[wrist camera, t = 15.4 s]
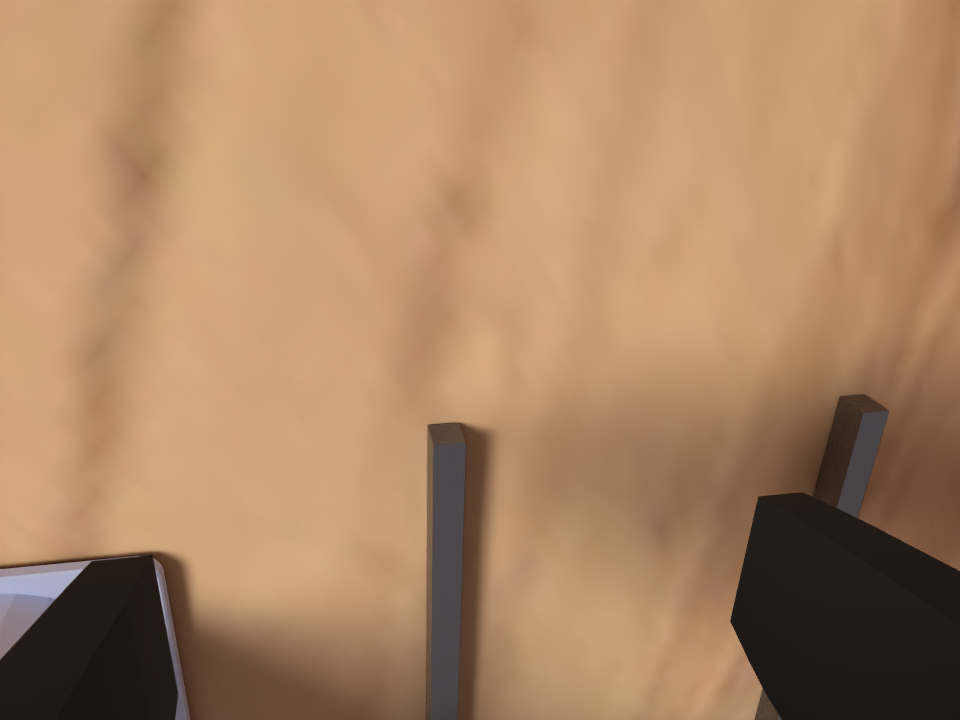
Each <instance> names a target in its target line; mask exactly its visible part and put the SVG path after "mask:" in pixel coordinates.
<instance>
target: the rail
mask: <svg viewBox="0 0 960 720" xmlns="http://www.w3.org/2000/svg"><path fill="white" fill-rule="evenodd" d="M888 413H889V411H888V410H887V409H885V408H884V407H882V406H881V405H879V404H878V403H876V402H875V401H873V400H872V399H870V398H869V397H867V396H866V395H854V396H840V399H839V403H838V406H837V410H836V414H835V418H834V422H833V425H832V429H831V433H830V437H829V441H828V444H827V448H826V452H825V456H824V459H823V463H822V467H821V471H820V475H819V478H818V482H817V486H816V490H815V494H814V498H816V499H818V500H821V501H823V502H825V503H827V504H829V505H831V506H834V507H836V508H838V509H840V510H842V511H844V512H846V513H848V514H850V515H852V516H854V517H856V518H858V514H859V511H860V508H861V504H862V501H863V497H864V494H865V491H866V487H867V484H868V481H869V477H870V474H871V470H872V467H873V464H874V460H875V457H876V454H877V450H878V447H879V444H880V440H881V437H882V433H883V430H884V427H885V423H886V420H887V417H888ZM465 460H466V441H465V438H464V436H463V433H462V430H461V427H460V424H459V423H447V424H433V425H428V462H427V641H426V720H458V691H459V658H460V625H461V592H462V559H463V526H464V493H465ZM755 720H782V719H781V717H780V716H779V714H778V713H777V711H776V710H775V708H774V706H773V705H772V703H771V702H770V700H769V698H768V697H767V695H766V693H765V691H764V689H763V691H762V695H761V698H760V702H759V706H758V710H757V714H756V717H755Z"/></svg>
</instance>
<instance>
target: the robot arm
mask: <svg viewBox="0 0 960 720" xmlns="http://www.w3.org/2000/svg"><path fill="white" fill-rule="evenodd" d="M730 621H731V624H732V626H733V628H734V630H735V632H736V634H737V636H738V638H739V641H740V643H741V645H742V647H743V649H744V651H745V653H746V656H747V658H748V660H749V662H750V664H751V666H752V668H753V670H754V672H755V674H756V676H757V677H758V679H759V681H760V683H761V685H762V687H763V689H764V691H765V693H766V695H767V697H768V698H769V700H770V702H771V703H772V705H773V706H774V708H775V710H776V711H777V713H778V714H779V716H780V717H781V719H782V720H960V571H958V570H956V569H954V568H952V567H950V566H949V565H947V564H945V563H943V562H941V561H939V560H937V559H935V558H933V557H931V556H929V555H927V554H926V553H924V552H922V551H920V550H918V549H916V548H914V547H912V546H910V545H908V544H906V543H904V542H903V541H901V540H899V539H897V538H895V537H893V536H891V535H889V534H887V533H885V532H883V531H881V530H880V529H878V528H876V527H874V526H872V525H870V524H868V523H866V522H864V521H862V520H860V519H858V518H856V517H854V516H852V515H850V514H848V513H846V512H844V511H842V510H840V509H838V508H836V507H834V506H831V505H829V504H827V503H825V502H823V501H821V500H818V499H816V498H814V497H811V496H809V495H807V494H804V493H802V492H801V493H790V494H780V495H769V496H759V497H758V501H757V505H756V510H755V514H754V518H753V523H752V527H751V532H750V536H749V540H748V545H747V549H746V554H745V558H744V563H743V567H742V571H741V576H740V580H739V585H738V589H737V593H736V598H735V602H734V607H733V611H732V615H731V620H730ZM0 720H190V714H189V709H188V703H187V697H186V692H185V686H184V681H183V675H182V670H181V664H180V658H179V653H178V647H177V642H176V636H175V631H174V625H173V619H172V614H171V608H170V603H169V597H168V592H167V586H166V580H165V575H164V570H163V567H162V565H161V564H160V563H159V562H158V561H157V560H156V559H154V558H153V555H149V556H133V557H123V558H112V559H102V560H92V561H81V562H71V563H61V564H50V565H40V566H29V567H19V568H9V569H0Z"/></svg>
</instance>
